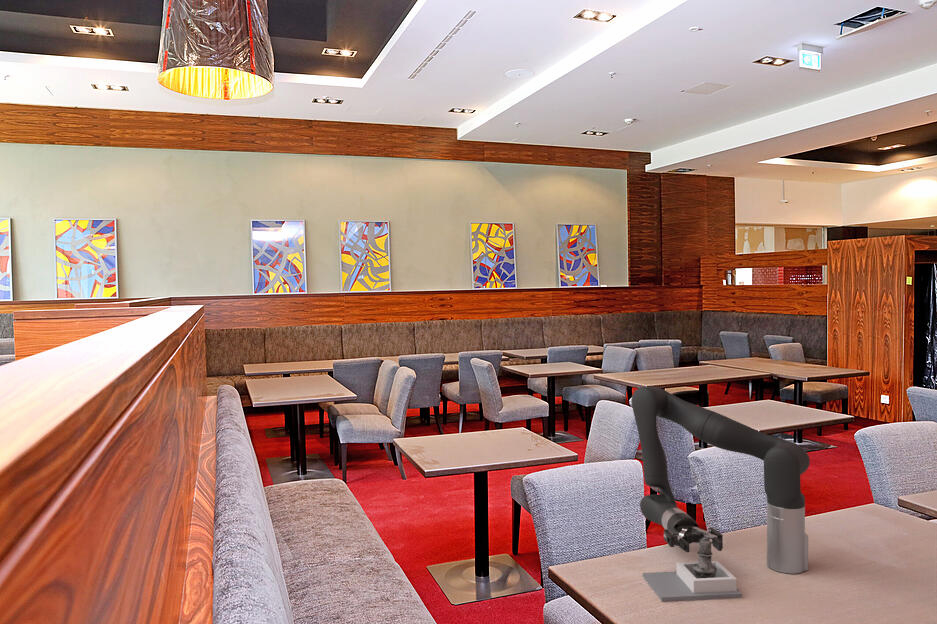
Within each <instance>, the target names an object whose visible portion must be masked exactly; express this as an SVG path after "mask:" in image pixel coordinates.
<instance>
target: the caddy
mask: <svg viewBox="0 0 937 624" xmlns="http://www.w3.org/2000/svg"><path fill="white" fill-rule="evenodd" d="M711 563H712V565H713V566H715V567H716V568H717V572H716V575H715V577H714V578H697V576H696V574H695V572H694V569H693V565H695V564H698V561H687V562H683V561H682V562H676V571H660V572H657V571H655V572H642V578H643V577H644V578H643V579H644V580H645V582H646V581H647V582H648V583H647V582H646V583H647V585H648V586H649V585H650V586H649V587H650V588H651V590H652V589H653V590H654V591H653V590H652V591H653V592H654V593H655V595H656V596H657V597H658V598H659V600H660V601H661V602H678V601H679V602H681V601H698V600H699V601H700V600H703V601H704V600H721V599H742V598H743V593H742V592H741V591H740V590H739V589H738V588H737V587H738V585H737V584H738V583H737V582H738V581H737V580H738V579H737V578H736V577H735V575H733V574H732V573H731V572H730V571H729V570H728V569H727V568H726V567H724V565H722V564H721V563H720V562H719V561H718V560H711ZM696 578H697V579H696Z"/></svg>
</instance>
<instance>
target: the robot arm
mask: <svg viewBox="0 0 937 624" xmlns="http://www.w3.org/2000/svg"><path fill="white" fill-rule="evenodd" d="M631 407H632V413H633V416H634V420H635V423H636V427H637V434H638V438H639V442H640V443H639V444H640V448H641V454H642V467H643V468H642V469H643V477H644V478H643V479H644V483H645V485H646V486H648V487H653V488H658V489H659V490H660V493H659V494H658V493H657V494H647V495H644V496H643V497H641V498H642V499H641V500H640V502H639V508H640V512H641V514H642V515H643V516H644V518H645V519H647V520H648V521H650V522H652V523H654V524H656V525H661V527H663V528H664V529H663V540H664V541H665V543H667V545H668V546H669V547H671V548H674V547H675V546H677V548H680V549H681V550H682V551H684V552H685V553H690V544H692V543H693V544H699V540H700V539H702V538H704V536H706V538H707V539H709V540H710V541H711V546H713V547H714V548H715V550H717V551H718V552H720V551H721V552H722V550H723V549H724V548H723V547H724V545H723V544H724V543H723V542H724V541H723V540H724V539H723V538H724V535H723V534H722V533H720V532H719V531H718V530H717V529H715V528H713V527H709V528H708V530H705V529H703V528H700V527H699V524H698V523H697V521H696V520H695V519H693V518H692V517H691V515H689V514H688V513H686V512H685V511H684V510H682V509H680V508H679V507H678V506H677V505H678V503H677V501H676V499H675V496H674V494H673V492H672V487H671V485H670V480H669V474H668V473H669V472H668V463H667V458H666V457H667V456H666V453H665V450H664V448H663V445H662V442H661V439H660V436H659V433H658V425H657V417H658V418H662V419H664V420H668V421H670V422H672V423H673V422H674V423H676V424H678V425H679V426H681V427H682V428H683V429H685V430H686V431H687V432H688V433H689V434H691V435H692V436H694V437H695V438H697V439H698V440H700V441H702V442H704V443H707V444H709V445H711V446H712V447H715V448H718V449H721V450H725V451H728V452H733V453H737V454H744V455H747V456H753V457H754V458H757V459H759V460H761V461H763V484H764V485H763V486H764V492H765V495H766V499H767V500H766V565H767V567H768V568H770V569H772V570H774V571H776V572H778V573H784V574H791V575H792V574H795V575H796V574H801V573H803V572H805V571H809V535H808V534H807V533H806V531H805V529H806V497H805V495H804V493H802V490H801V489H802V488H801V475H802V474H804V473H806V471H807V470H808V469H809V466H810V463H811V462H810V461H811V459H810V457H809V454H808V453H807V451H806V450H805V448H803V447H802V446H801V445H800V444H798V443H796V442H792V441H789V440H787V439H784V438H779V437H776V436H773V435H770V434H767V433H764V432H761V431H759V430H757V429H755V428H752V427H751V426H748V425H746V424H743V423H741V422H739V421H737V420H735V419H732V418H729V417H727V416H725V415H724V414H721V413H718V412H717V411H713V410H711V409H708V408H705V407H702V406H700V405H697V404H694V403H691V402H688V401H685V400H683V399H682V398H679V397H678V396H676V395H674V394H672V393H671V392H669V391H667V390H665V389H663V388H660V387H659V386H640V387H638V388H637V389H635V390H634V391H633V393H632V395H631Z"/></svg>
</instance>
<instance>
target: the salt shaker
mask: <svg viewBox="0 0 937 624" xmlns="http://www.w3.org/2000/svg"><path fill="white" fill-rule="evenodd" d="M711 542H712V540H711V539H710V540H709V539H707V538H706V536H704V538H702V539H700V540H699V543H698V551H697V554H698V561H697V562H698V564H695V565H693V569H694V572H695V574H696V576H697V578H714V577H715V575H716V572H717V568H716V567H715V566H713V565H712V563H711V561H712V556H713V552H712V545H711ZM697 578H696V579H697Z"/></svg>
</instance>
